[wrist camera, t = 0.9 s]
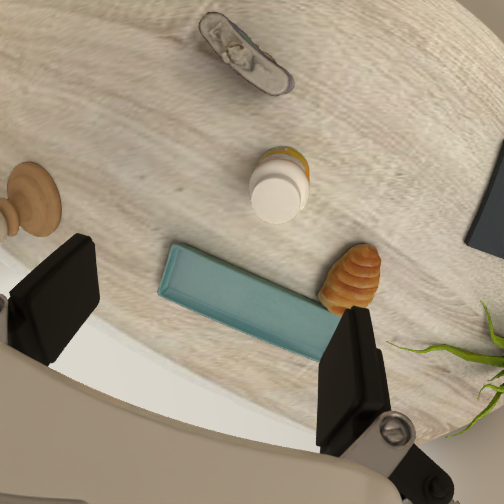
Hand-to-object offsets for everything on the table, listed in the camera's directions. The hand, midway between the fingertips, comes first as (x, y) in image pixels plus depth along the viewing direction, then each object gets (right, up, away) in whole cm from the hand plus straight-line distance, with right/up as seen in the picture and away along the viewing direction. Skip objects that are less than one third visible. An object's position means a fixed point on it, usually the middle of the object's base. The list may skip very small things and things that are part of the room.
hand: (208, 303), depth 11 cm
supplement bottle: (+5, +11, +23) cm, 25 cm away
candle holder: (-32, +10, +30) cm, 45 cm away
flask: (+2, +21, +17) cm, 27 cm away
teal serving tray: (+3, -5, +32) cm, 32 cm away
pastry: (+14, -1, +28) cm, 31 cm away
